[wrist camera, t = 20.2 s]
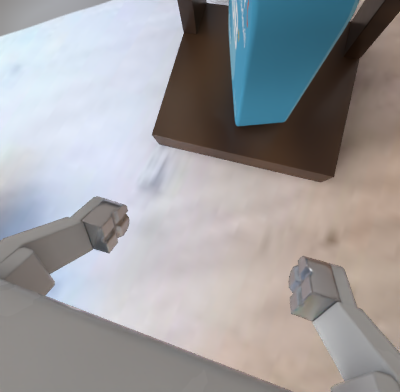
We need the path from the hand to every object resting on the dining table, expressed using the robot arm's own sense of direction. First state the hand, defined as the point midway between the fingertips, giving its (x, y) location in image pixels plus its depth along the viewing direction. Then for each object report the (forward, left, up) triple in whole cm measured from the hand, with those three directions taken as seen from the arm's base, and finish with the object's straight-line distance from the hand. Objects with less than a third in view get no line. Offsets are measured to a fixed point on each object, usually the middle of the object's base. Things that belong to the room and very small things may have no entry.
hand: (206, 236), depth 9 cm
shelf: (0, -16, -12) cm, 20 cm away
